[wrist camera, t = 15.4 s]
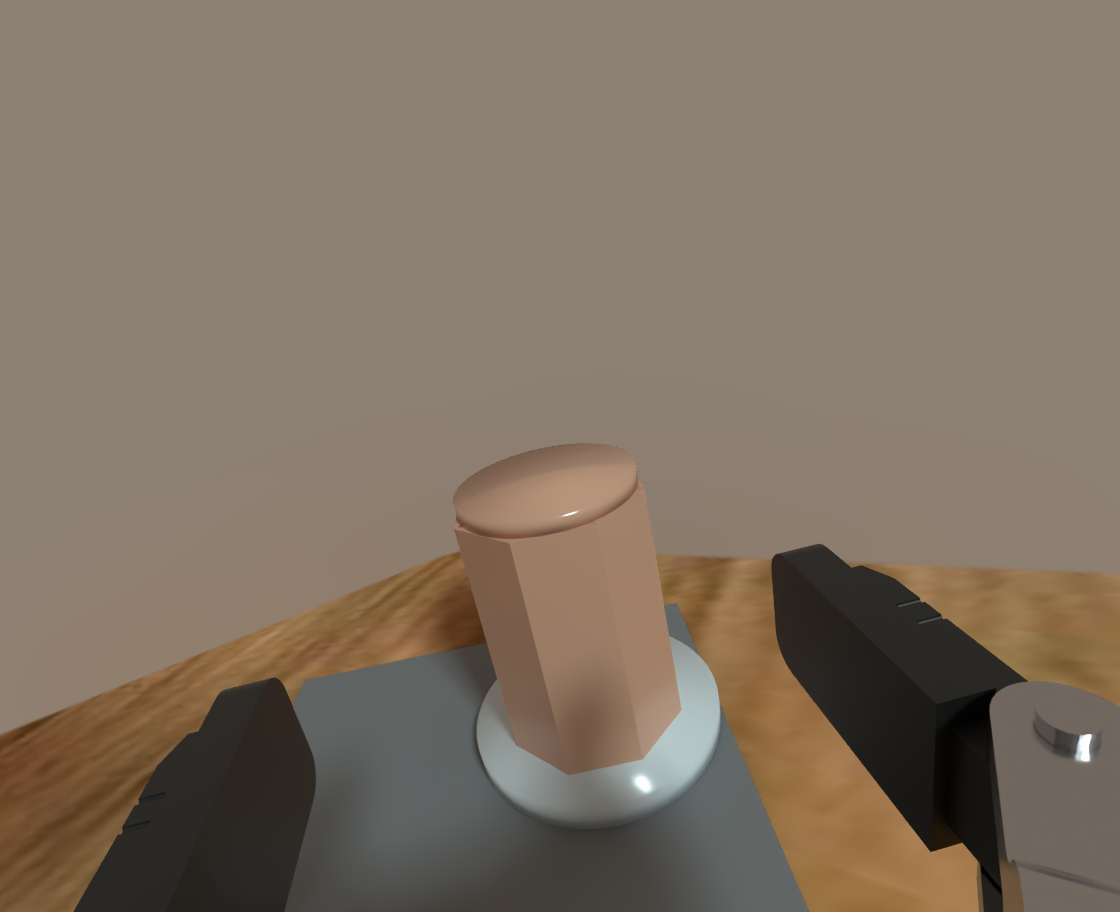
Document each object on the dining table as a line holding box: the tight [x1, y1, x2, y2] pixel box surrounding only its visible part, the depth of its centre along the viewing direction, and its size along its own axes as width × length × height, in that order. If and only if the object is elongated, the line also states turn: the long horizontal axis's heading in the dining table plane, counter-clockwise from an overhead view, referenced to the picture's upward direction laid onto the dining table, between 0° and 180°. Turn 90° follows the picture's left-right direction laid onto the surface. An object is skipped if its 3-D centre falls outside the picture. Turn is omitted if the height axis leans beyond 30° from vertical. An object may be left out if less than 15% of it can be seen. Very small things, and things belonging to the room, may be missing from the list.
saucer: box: [477, 636, 722, 830], centre depth 26 cm, size 10×10×1 cm
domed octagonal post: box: [453, 444, 682, 775], centre depth 24 cm, size 7×7×10 cm
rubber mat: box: [284, 603, 809, 912], centre depth 21 cm, size 20×24×1 cm
